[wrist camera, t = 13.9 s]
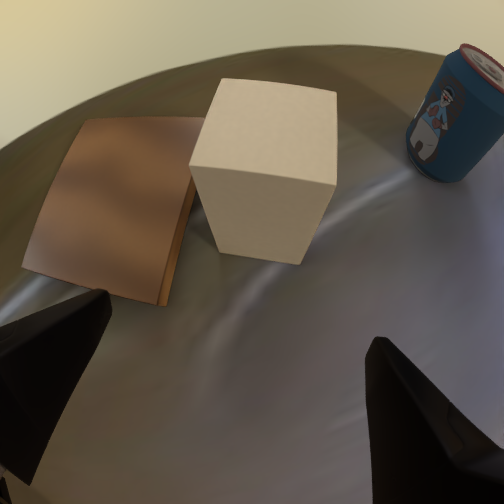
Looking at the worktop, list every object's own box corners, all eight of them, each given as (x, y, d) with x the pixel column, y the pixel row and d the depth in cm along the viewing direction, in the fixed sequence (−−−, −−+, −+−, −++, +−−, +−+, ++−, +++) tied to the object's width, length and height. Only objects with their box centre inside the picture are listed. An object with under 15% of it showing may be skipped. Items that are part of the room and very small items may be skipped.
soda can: (466, 162, 23) (527, 86, 11) (448, 203, 21) (529, 119, 10) (414, 120, 24) (460, 32, 13) (389, 154, 23) (445, 48, 11)
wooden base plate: (168, 310, 19) (156, 305, 16) (39, 275, 19) (21, 267, 17) (215, 138, 23) (211, 118, 21) (96, 135, 24) (86, 119, 22)
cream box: (299, 265, 19) (336, 185, 10) (219, 252, 20) (187, 165, 10) (307, 194, 21) (336, 91, 12) (234, 184, 22) (221, 77, 12)
